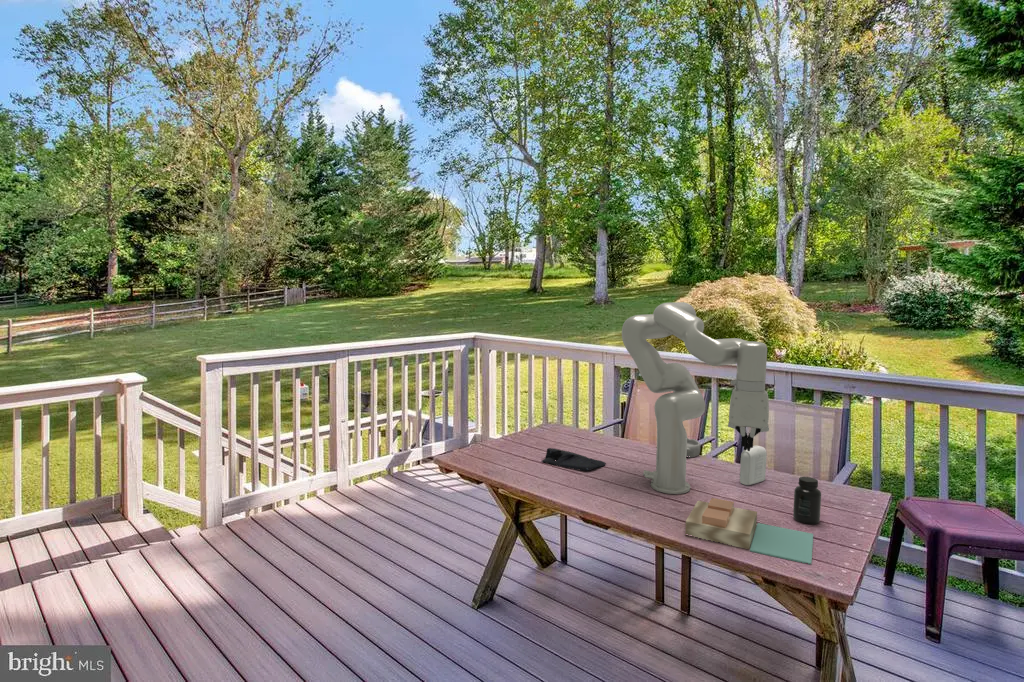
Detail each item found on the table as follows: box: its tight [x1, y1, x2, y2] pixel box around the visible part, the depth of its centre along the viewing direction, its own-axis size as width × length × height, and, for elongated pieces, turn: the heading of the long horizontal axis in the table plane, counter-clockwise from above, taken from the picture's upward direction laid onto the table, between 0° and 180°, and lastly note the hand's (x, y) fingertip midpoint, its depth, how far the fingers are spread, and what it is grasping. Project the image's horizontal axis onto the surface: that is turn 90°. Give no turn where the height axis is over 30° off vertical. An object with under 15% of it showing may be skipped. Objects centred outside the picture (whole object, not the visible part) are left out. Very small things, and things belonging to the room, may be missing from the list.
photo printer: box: [739, 445, 768, 486], centre depth 190 cm, size 10×4×12 cm, turn 123°
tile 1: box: [708, 497, 735, 516], centre depth 157 cm, size 6×6×2 cm
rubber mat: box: [749, 522, 814, 565], centre depth 147 cm, size 14×18×1 cm
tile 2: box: [702, 508, 730, 528], centre depth 150 cm, size 6×6×2 cm
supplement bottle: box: [792, 476, 822, 525], centre depth 160 cm, size 7×7×12 cm
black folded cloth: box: [541, 447, 607, 472], centre depth 210 cm, size 15×22×5 cm
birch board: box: [684, 500, 758, 550], centre depth 154 cm, size 16×16×4 cm
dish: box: [687, 437, 701, 458], centre depth 222 cm, size 14×14×5 cm
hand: (747, 449), depth 159 cm, fingers closed
